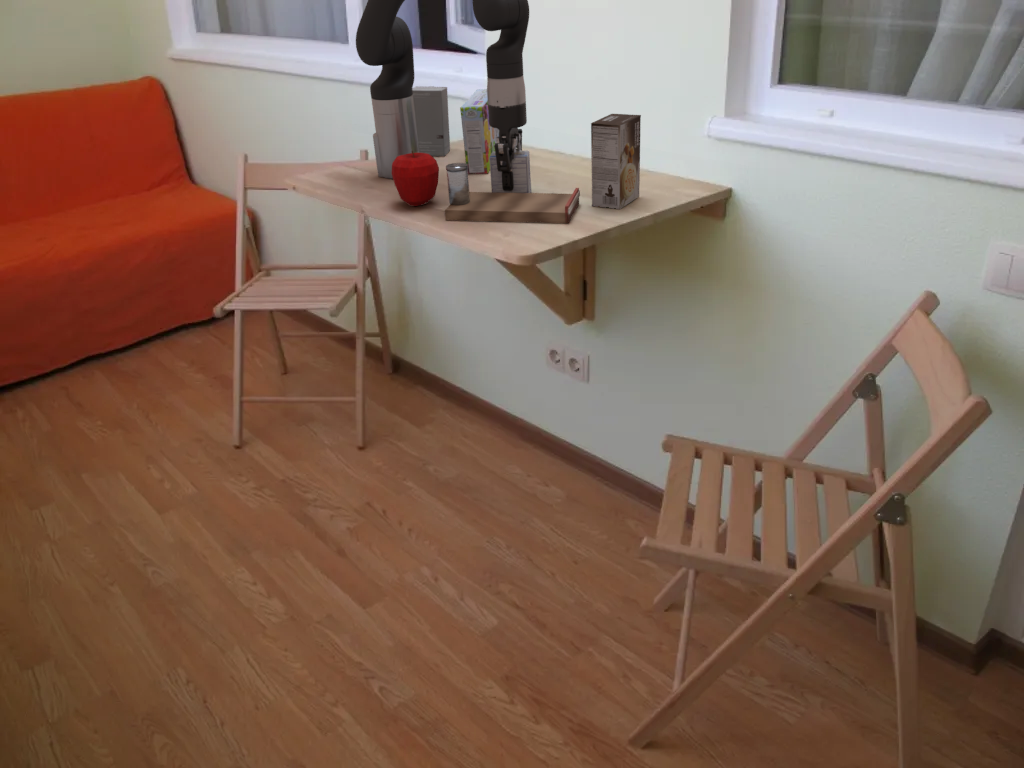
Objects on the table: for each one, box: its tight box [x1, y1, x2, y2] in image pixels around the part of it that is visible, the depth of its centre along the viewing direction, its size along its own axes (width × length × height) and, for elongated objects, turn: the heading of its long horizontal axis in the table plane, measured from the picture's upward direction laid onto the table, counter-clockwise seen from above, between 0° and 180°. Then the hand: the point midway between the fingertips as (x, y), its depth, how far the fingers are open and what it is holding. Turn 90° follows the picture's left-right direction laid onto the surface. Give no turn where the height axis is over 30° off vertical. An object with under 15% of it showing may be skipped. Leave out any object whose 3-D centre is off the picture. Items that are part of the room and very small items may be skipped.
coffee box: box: [590, 113, 642, 210], centre depth 158 cm, size 9×6×16 cm
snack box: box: [459, 88, 499, 175], centre depth 191 cm, size 21×6×15 cm, turn 172°
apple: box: [392, 151, 440, 207], centre depth 165 cm, size 10×10×11 cm
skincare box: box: [412, 85, 451, 157], centre depth 201 cm, size 8×7×16 cm
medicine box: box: [489, 149, 532, 193], centre depth 168 cm, size 8×4×9 cm, turn 84°
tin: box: [445, 162, 470, 205], centre depth 159 cm, size 4×4×7 cm
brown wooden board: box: [444, 187, 581, 224], centre depth 159 cm, size 24×12×3 cm, turn 76°
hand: (511, 185), depth 169 cm, fingers closed on medicine box, 4 cm apart
